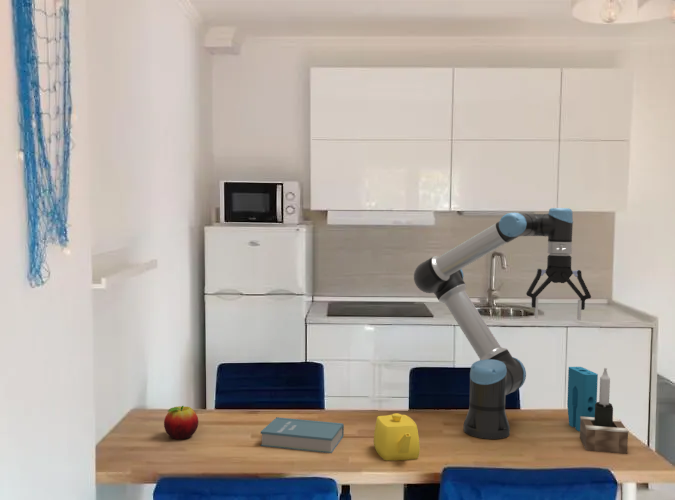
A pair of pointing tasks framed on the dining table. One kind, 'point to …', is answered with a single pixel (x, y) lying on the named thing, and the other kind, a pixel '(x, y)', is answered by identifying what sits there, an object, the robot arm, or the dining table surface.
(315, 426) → the book
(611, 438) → the holder
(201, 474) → the dining table surface
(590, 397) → the block
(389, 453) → the teapot
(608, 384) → the grey and black rod
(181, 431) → the fruit
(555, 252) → the robot arm
